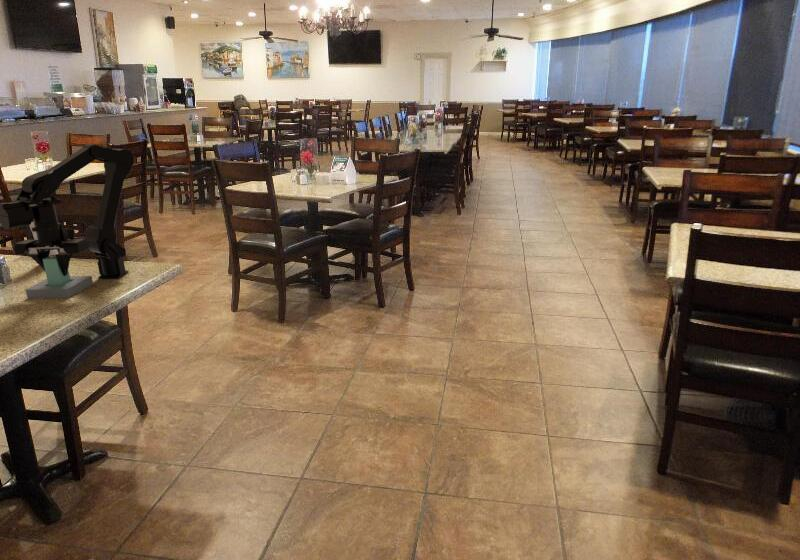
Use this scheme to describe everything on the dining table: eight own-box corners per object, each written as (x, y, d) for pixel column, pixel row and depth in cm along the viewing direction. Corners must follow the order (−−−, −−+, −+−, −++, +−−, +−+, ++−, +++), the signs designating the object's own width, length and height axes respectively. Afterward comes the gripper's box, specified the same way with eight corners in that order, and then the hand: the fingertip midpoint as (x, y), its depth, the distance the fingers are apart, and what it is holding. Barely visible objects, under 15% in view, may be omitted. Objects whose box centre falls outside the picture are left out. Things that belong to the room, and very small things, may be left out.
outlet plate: (93, 283, 171) (91, 275, 170) (68, 297, 160) (66, 289, 159) (54, 284, 172) (52, 276, 171) (27, 298, 161) (25, 289, 160)
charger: (70, 281, 167) (64, 253, 164) (62, 286, 163) (55, 257, 161) (57, 282, 167) (51, 253, 165) (48, 286, 164) (42, 257, 161)
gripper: (94, 215, 167) (105, 266, 172) (32, 216, 168) (44, 267, 173) (71, 223, 156) (83, 278, 161) (5, 225, 157) (19, 279, 162)
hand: (58, 275), depth 165 cm, fingers closed on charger, 4 cm apart
